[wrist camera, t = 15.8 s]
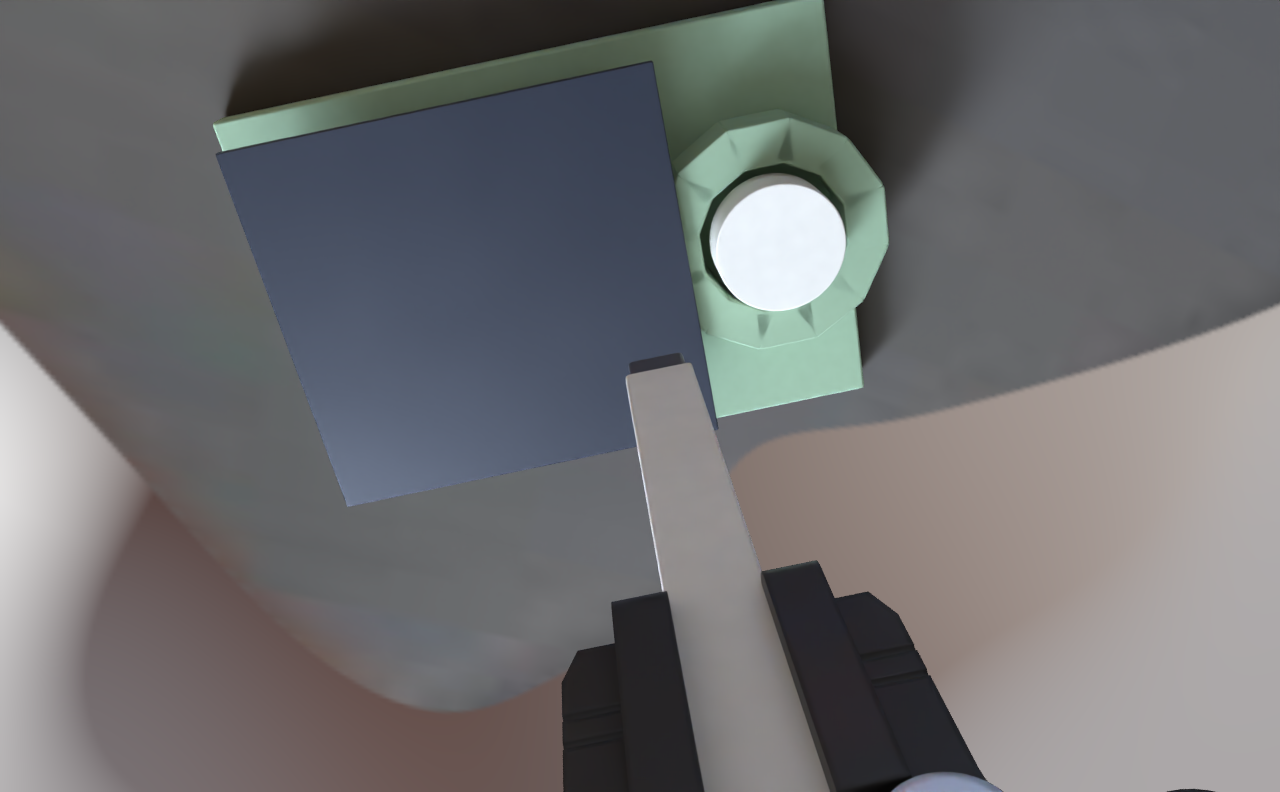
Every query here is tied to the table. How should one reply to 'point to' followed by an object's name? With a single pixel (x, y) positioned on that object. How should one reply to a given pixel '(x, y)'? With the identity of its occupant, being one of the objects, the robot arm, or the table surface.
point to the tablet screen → (474, 277)
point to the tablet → (698, 170)
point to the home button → (777, 241)
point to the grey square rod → (716, 594)
